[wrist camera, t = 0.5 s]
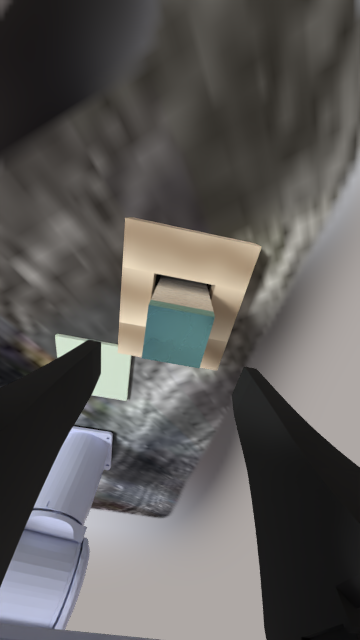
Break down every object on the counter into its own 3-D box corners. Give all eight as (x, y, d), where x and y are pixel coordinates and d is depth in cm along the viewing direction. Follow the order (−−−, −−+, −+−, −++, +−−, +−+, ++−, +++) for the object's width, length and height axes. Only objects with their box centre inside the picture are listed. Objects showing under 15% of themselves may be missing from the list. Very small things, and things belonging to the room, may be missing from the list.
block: (196, 320, 20) (199, 368, 14) (156, 313, 20) (141, 358, 14) (206, 282, 18) (214, 317, 12) (162, 273, 18) (148, 304, 12)
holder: (214, 357, 22) (217, 370, 20) (123, 341, 22) (117, 352, 20) (253, 243, 17) (261, 246, 15) (132, 217, 16) (125, 217, 14)
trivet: (127, 398, 25) (126, 400, 25) (63, 387, 25) (61, 390, 25) (132, 347, 22) (131, 349, 21) (57, 333, 21) (55, 335, 21)
